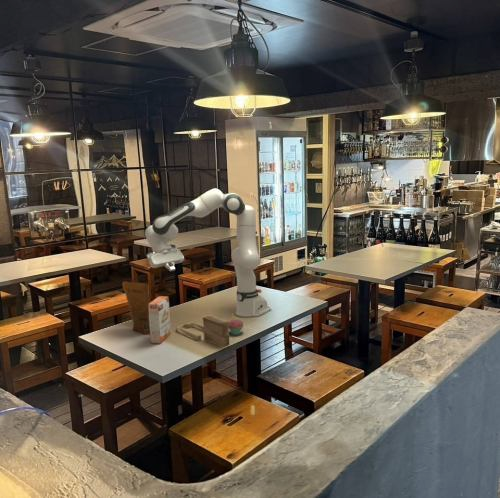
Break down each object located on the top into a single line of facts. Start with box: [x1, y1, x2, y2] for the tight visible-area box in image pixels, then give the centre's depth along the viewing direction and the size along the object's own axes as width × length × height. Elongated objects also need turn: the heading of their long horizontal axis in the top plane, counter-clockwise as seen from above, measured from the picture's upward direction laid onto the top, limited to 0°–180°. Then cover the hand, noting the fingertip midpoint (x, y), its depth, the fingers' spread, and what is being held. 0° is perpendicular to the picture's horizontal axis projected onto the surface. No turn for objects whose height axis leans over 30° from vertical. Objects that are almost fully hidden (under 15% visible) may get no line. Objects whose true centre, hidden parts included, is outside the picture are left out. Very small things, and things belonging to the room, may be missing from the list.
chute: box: [175, 320, 204, 342], centre depth 242 cm, size 12×20×2 cm, turn 43°
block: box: [202, 314, 230, 348], centre depth 228 cm, size 5×14×12 cm, turn 43°
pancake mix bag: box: [121, 281, 151, 335], centre depth 244 cm, size 7×19×28 cm, turn 52°
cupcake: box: [228, 312, 244, 336], centre depth 239 cm, size 9×8×12 cm
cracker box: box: [148, 295, 171, 345], centre depth 234 cm, size 14×6×21 cm, turn 168°
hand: (172, 270), depth 249 cm, fingers closed
